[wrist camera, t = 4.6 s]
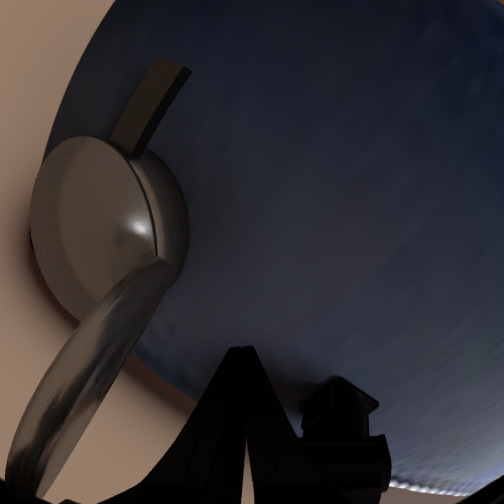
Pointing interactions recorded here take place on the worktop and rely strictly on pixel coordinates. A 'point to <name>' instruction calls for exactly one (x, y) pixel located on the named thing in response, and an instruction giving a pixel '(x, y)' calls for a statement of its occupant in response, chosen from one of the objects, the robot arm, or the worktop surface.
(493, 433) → the worktop surface
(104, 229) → the cooker pot
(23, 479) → the lid
